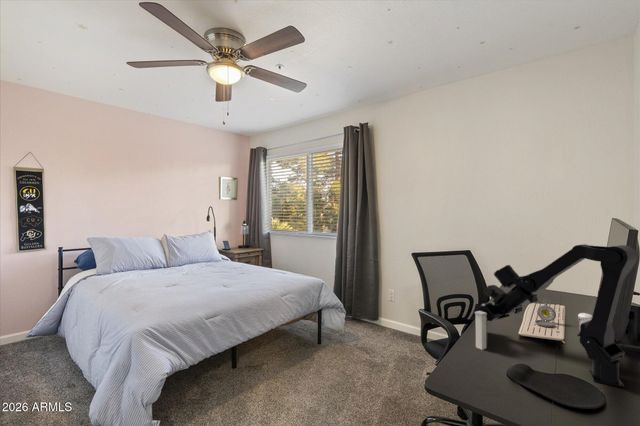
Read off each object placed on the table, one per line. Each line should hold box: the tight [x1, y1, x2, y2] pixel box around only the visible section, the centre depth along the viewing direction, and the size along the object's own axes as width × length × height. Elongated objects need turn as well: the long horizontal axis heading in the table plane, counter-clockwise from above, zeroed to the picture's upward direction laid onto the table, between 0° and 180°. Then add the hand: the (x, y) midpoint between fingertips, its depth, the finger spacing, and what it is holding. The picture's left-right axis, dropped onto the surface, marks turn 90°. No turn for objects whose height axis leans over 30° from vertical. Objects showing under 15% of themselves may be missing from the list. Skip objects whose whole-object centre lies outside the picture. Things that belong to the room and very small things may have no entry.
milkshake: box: [577, 312, 593, 328], centre depth 119 cm, size 5×5×10 cm
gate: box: [486, 318, 488, 347], centre depth 119 cm, size 16×1×9 cm, turn 154°
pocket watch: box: [534, 299, 557, 328], centre depth 133 cm, size 8×8×10 cm
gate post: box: [474, 310, 487, 351], centre depth 111 cm, size 3×3×13 cm
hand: (486, 319), depth 122 cm, fingers closed
